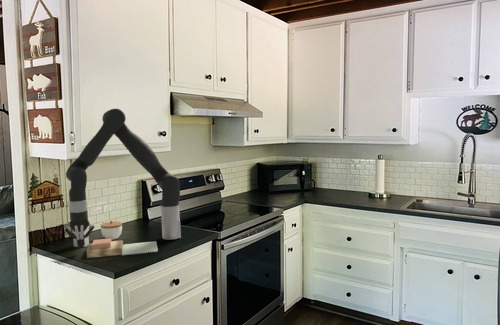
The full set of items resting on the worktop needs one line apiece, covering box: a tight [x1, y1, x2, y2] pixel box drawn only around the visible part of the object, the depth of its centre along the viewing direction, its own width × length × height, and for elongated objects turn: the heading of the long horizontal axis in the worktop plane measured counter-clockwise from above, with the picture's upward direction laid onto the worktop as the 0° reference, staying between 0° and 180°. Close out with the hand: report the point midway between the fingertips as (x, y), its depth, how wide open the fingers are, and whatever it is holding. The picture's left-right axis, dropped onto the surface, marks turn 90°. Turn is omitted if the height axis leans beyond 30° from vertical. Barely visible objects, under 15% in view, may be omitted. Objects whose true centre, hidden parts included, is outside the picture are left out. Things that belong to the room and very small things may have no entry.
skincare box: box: [72, 226, 90, 248], centre depth 195 cm, size 6×4×12 cm
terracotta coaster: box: [92, 238, 113, 249], centre depth 184 cm, size 8×8×2 cm
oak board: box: [86, 239, 124, 259], centre depth 185 cm, size 15×13×3 cm
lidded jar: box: [100, 220, 123, 241], centre depth 208 cm, size 11×11×9 cm
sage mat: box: [121, 241, 159, 256], centre depth 189 cm, size 16×16×1 cm
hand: (81, 246), depth 182 cm, fingers closed
